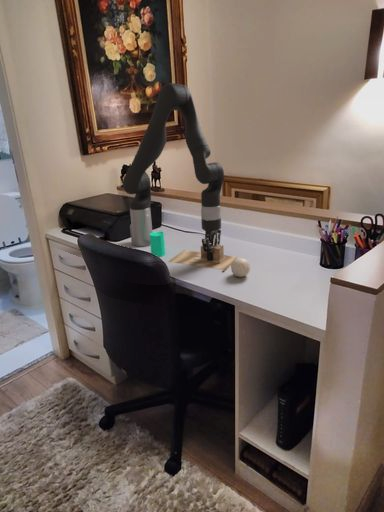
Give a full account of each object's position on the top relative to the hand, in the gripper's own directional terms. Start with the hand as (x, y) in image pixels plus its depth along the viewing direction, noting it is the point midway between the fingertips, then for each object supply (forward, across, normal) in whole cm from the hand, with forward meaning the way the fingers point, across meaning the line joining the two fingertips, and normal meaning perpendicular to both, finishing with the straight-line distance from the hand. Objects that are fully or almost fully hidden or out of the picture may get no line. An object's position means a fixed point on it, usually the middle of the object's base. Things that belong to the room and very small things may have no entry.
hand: (212, 258), depth 152 cm
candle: (+2, +1, -24) cm, 24 cm away
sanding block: (+1, 0, 0) cm, 1 cm away
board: (+2, 0, -4) cm, 5 cm away
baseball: (+2, +8, +15) cm, 17 cm away
